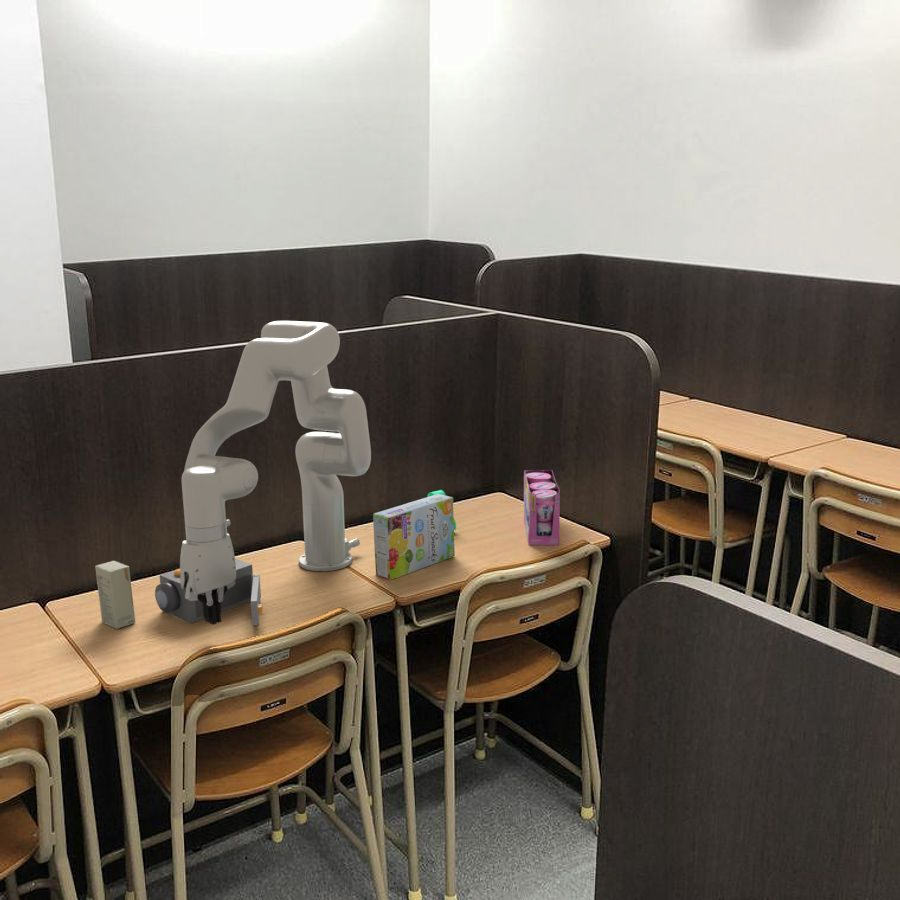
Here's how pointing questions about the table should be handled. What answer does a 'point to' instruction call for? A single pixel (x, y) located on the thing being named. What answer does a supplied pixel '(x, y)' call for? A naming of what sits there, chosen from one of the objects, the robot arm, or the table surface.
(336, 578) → the table surface
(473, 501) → the table surface
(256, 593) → the side door
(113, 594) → the skincare box
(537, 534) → the gum box
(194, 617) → the camera body
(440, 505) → the snack box
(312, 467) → the robot arm
